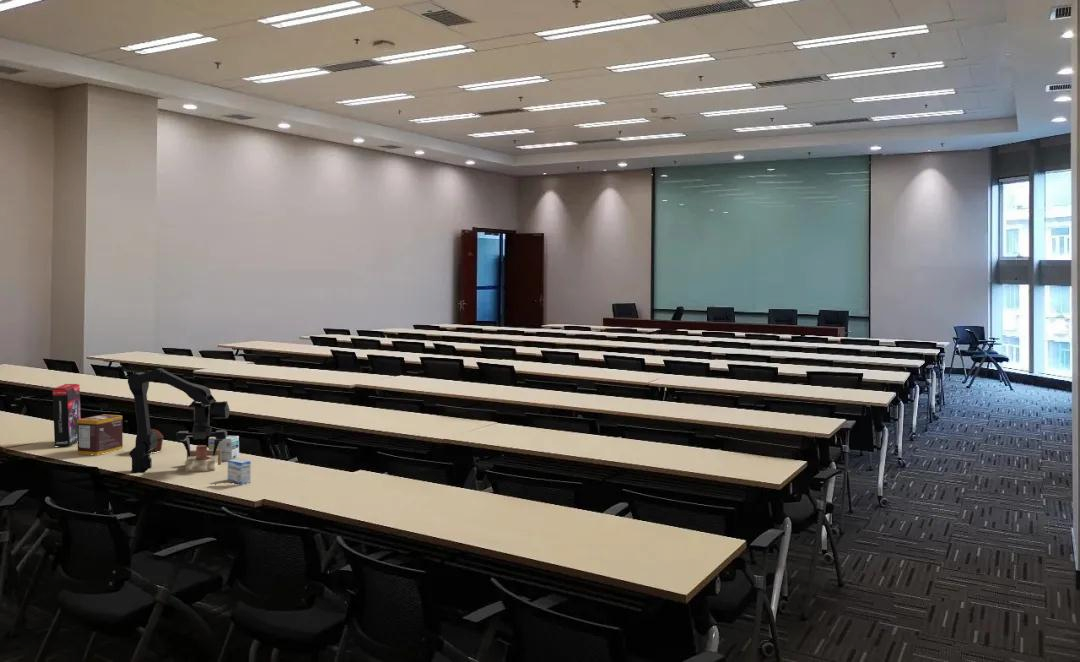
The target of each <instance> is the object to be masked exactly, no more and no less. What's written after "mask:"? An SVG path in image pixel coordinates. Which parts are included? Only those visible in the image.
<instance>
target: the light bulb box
mask: <svg viewBox="0 0 1080 662" xmlns="http://www.w3.org/2000/svg"><path fill="white" fill-rule="evenodd" d="M215 439H216V438H215V437H208V450H214V440H215ZM219 449H221V462H226V461H227V462H228V461H229V460H233V459H239V460H240V436H239V435H227V437H226V439H223V440H222V441H220V442H219V444H218V447H217V450H219Z"/></svg>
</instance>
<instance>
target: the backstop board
mask: <svg viewBox="0 0 1080 662" xmlns="http://www.w3.org/2000/svg"><path fill="white" fill-rule="evenodd" d="M207 455H213V450H209V449H207ZM215 455H218V465H219V466H220V465H221V466H222V461H221V449H219V450H216V453H215ZM190 456H196V449H195V450H194V449H193V450H192V449H190ZM188 457H189V456H188V453H187V452H186V460H187V459H188Z"/></svg>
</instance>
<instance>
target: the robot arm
mask: <svg viewBox="0 0 1080 662" xmlns="http://www.w3.org/2000/svg"><path fill="white" fill-rule="evenodd" d="M155 380H159V381H161V382H163V383H165V384H167V385H169V386H171V387H173V388H175V389H177V390H179V391H182V392H183V393H185V394H186V395H187V396H188V397H189V398H190V399H192V400H193V401H192V402H191V403H190V404H188V408H193V427H192V432H189V430H179V431H178V432H176V433H175V440H176V441H179V443H182V444H183V446H184V448H185V450H186V454H187V453H188V456H189V457H190V450H191V446H190V445H191V444H190V443H191V442H190V438H192V439H193V440H205V439H206V438H210V437H215V438H216V439H215V440H214V450H213V456H215V453H216V450H217V447H218V444H219V442H220V441H222V440H223V439H226V437H227V436H228V431H227V430H226V429H217V430H216V431H215V432H214V431H212V426H210V417H211V418H212V419H228V418H229V416H230V410H231V409H230V407H229V402H228V401H225V400H223V401H217V400H216V398H215V396H213V395H212V392H211V389H210V388H209V387H207V386H205V385H201V384H197V383H193V382H190V381H188V380H186V379H183V378H181V377H179V376H177V375H175V374H174V373H172V372H169V371H167V370H165V369H164V368H161V367H160V368H156V369H154V370H152V371H149V372H148V371H147V372H142V371H141V372H140V371H139V372H136V373H132V374H131V375H129V376H128V378H127V384H128V387H129V390H130V392H131V394H132V396H133V399H134V401H133V402H134V408H135V416H136V417H135V418H136V426H137V432H136V433H137V434H136V437H135V443H134V444H135V445H134V447H133V448H132V449H131V450H130V451H129V452H128V454H129V457H130V458H131V470H130V473H136V472H135V471H146V472H147V471H148V469H152V467H153V466H152V465H153V460H152V459H153V458H152V457H151V454H150V453H151V452H152V449H154V448H155V446H156V442H158V440H157V432H155V433H153V432H152V430H151V429H152V427H151V421H150V412H149V403H148V391H149V387H150V382H152V381H155Z"/></svg>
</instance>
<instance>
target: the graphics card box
mask: <svg viewBox="0 0 1080 662" xmlns="http://www.w3.org/2000/svg"><path fill="white" fill-rule="evenodd" d="M80 393H81V391H80V384H79V383H64V384H62V385H59V386H56V387H53V388H52V408H53V409H52V410H53V411H52V413H53V433H54V435H53V436H54V447H55V446H69V447H71V446H73V445H74V444H76V443H78V442H77V441H78V434H77V420H78V419H82V417H81V416H82V415H81V413H82V412H81V395H80ZM75 442H76V443H75ZM72 444H73V445H72Z"/></svg>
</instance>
